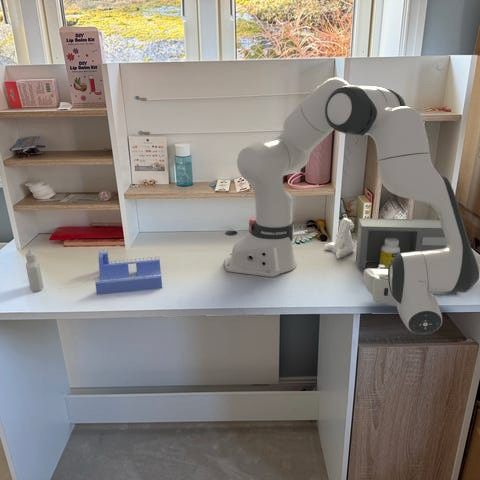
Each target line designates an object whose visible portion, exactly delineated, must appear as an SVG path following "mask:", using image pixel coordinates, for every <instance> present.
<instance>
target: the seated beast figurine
mask: <svg viewBox="0 0 480 480" xmlns="http://www.w3.org/2000/svg"><path fill="white" fill-rule="evenodd" d="M354 228H355V224H354V222H353V220H351V219H349V218H348V217H343V218H342V219H341V221H340V222H339V228H338V232H337V234H335V237H336V238H335V241H334V242H328V243H326V244H324V250H325V251H330V252H333V253H334V254H335V258H337V259H343V258H344V257H346V256H349V254H351V253H352V252H353V251H354V249H355V244H354V242H353V238H352V235H351V233H350V231H351V230H352V229H354Z"/></svg>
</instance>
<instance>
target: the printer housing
mask: <svg viewBox="0 0 480 480" xmlns="http://www.w3.org/2000/svg"><path fill="white" fill-rule="evenodd" d="M357 227H358V229H357V238H356V239H357V240H356V241H357V242H356V252H355V263H356V265H357V269H358V270H360V271H361V270H363V271H364V270H365V269H366V265H367V263H368V262H369V263H370V262H371V263H372V262H373V263H380V256H381V248H382V246H383V245H385V244H384V242H385V238H390V237H391V238H396V239H398V240H399V244H398V247H399V248H400V253H405V252H414V251H427V250H437V249H444V248H446V246H447V242H446V239H445V235H444V232H443V229H442V225H441V222H440V220H438V219H408V218H407V219H405V218H371V217H370V218H368V217H367V218H366V217H362V218H361V217H359V218H358V225H357Z"/></svg>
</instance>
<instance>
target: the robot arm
mask: <svg viewBox="0 0 480 480" xmlns="http://www.w3.org/2000/svg"><path fill="white" fill-rule="evenodd" d="M422 116H423V115H421V112H420V111H418V109H415V108H414V107H410V106H406V102H405V100H404V98H403V97H402V96H401V95H400V94H399V93H397V92H396V91H394V90H392V89H390V88H389V89H388V88H383V87H378V86H373V85H367V86H366V85H353V84H349V83H348V82H347V81H346V80H345V79H342V78H340V77H332V78H329V79H326V80H325V81H324V82H323V83H321V84H320V85H318V86H317V87H316V88H314V90H312V91H311V92H310V93H309V94H308V95H307V96H306V97H304V99H303V100H301V102H299V104H298V105H297V106H296V107H295V108H294V109H293V110H292V111H291V112H290V113H289V114H288V116H287V117H286V118H285V119H284V122H283V127H282V128H283V130H282V132H281V133H280V134H279V135H277V136H276V137H274V138H271V139H267V140H262V141H256V142H254V143H252V144H250V145H248V146H246V147H244V148H243V149H241V150H240V151H239V153H238V155H237V158H236V165H237V170H238V172H239V174H240V175H241V177H242V178H243V179H244V180H246V181H247V182H248V183H249V185H250V187H251V189H252V192H253V197H254V200H255V201H254V204H255V218H253V217H251V218H250V219H249V221H248V225H249V226H248V231H249V232H248V233H246V234H245V235H243V236H241V238H239V239H237V240H236V241H235V243H234V244H233V247H232V250H231V253H229V254H228V255H227V257H225V259H224V269H225V270H226V271H227V272H230V273H237V274H247V275H255V276H263V277H270V278H275V277H277V276H278V275H280V274H283V273H287V272H288V273H289V271H292V270H294V269H295V268H296V267H297V261H296V258H295V252H294V245H293V239H294V238H295V237H294V235H295V234H294V231H295V226H294V221H293V200H294V199H293V196H292V195H291V193H289V192H288V191H287V190H285V188H284V183H283V177H285V176H287V175H291V174H295V173H296V172H298V171H299V170H302V169H303V168H304V167H305V166H307V164H308V163H309V160H310V157H311V153H312V152H313V150H314V149H315V148H316V147H317V146H318V145H320V143H321V142H322V141H324V140H325V139H326V138H327V137H328V136H329V135H330V134H331V133H332V132H333V131H334V130H335V131H337V132H338V133H339V132H340V133H342V134H344V135H345V134H346V135H354V136H370V137H371V139H372V140H373V141H374V144H375V148H376V155H377V156H376V157H377V158H376V159H377V166H378V172H379V177H380V180H381V184H382V185H383V187H384V188H385V189H386V190H387V191H388V192H390V193H391V194H393V195H396V196H398V197H401V198H404V199H408V200H413V201H417V202H421V203H423V204H427V205H429V206H430V207H432V208H433V209H434V210H435V212H436V213H437V216H438V218H439V219H440V222H441V225H442V229H443V232H444V235H445V239H446V242H447V246H446V248H444V249H437V250H427V251H414V252H405V253H399V254H397V255H396V256H395V257H394V259H393V260H392V262H391V263H390V265H389V268H388V269H385V266H384V265H379V264H378V266H377V268H373V267H372V268H371V267H369V268H365V270H363V283H364V286H365V288H366V290H367V291H368V293H370V294H371V295H372V300H373V301H374V302H378V303H379V302H380V303H383V304H387V305H391V306H393V307H396V309H397V312H398V314H399V317H400V319H401V321H402V322H403V324H404V326H405V327H406V328H407V330H409V331H410V333H413V334H415V335H418V336H419V335H420V336H423V335H424V336H425V335H430V334H433V333H435V332H437V331H438V330H439V329H440V327H442V324H443V315H442V312H441V308H440V306H439V304H438V301H437V300H436V298H435V296H434V295H442V294H447V293H446V292H457V293H467V292H468V291H470V289H472V288H473V287H474V286H475V285H476V284H477V282H478V281H479V279H480V268H479V264H478V261H477V259H476V256H475V254H474V250H473V249H472V246H471V243H470V240H469V238H468V234H467V231H466V226H465V224H464V220H463V218H462V214H461V210H460V207H459V203H458V200H457V198H456V195H455V192H454V189H453V186H452V184H451V183H450V181H449V179H448V177H446V176H444V175H442V174H439V172H438V171H437V169H436V168H435V166H434V165H433V162H432V158H431V154H430V144H429V139H428V135H427V130H426V126H425V124H424V119H423V117H422Z"/></svg>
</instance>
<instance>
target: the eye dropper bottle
mask: <svg viewBox="0 0 480 480" xmlns="http://www.w3.org/2000/svg"><path fill="white" fill-rule="evenodd" d="M25 257H26V264H25V268H26V273H27V279H28V282H29V289H30V291H31V292H32V293H34V292H36V293H37V292H41V291H42V290H43V288H44V283H43V277H42V272H41V267H40V263H39V260H37V256H36V253H35V252H33V251H32V249H31V248H29V249H27V253H25Z"/></svg>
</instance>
